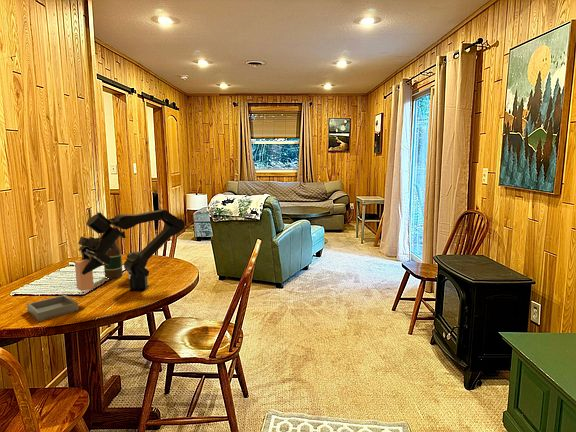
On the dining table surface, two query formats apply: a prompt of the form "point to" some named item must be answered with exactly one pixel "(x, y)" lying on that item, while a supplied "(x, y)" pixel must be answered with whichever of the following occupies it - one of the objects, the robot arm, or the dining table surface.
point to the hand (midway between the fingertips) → (80, 272)
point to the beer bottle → (114, 263)
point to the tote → (52, 307)
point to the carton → (83, 276)
